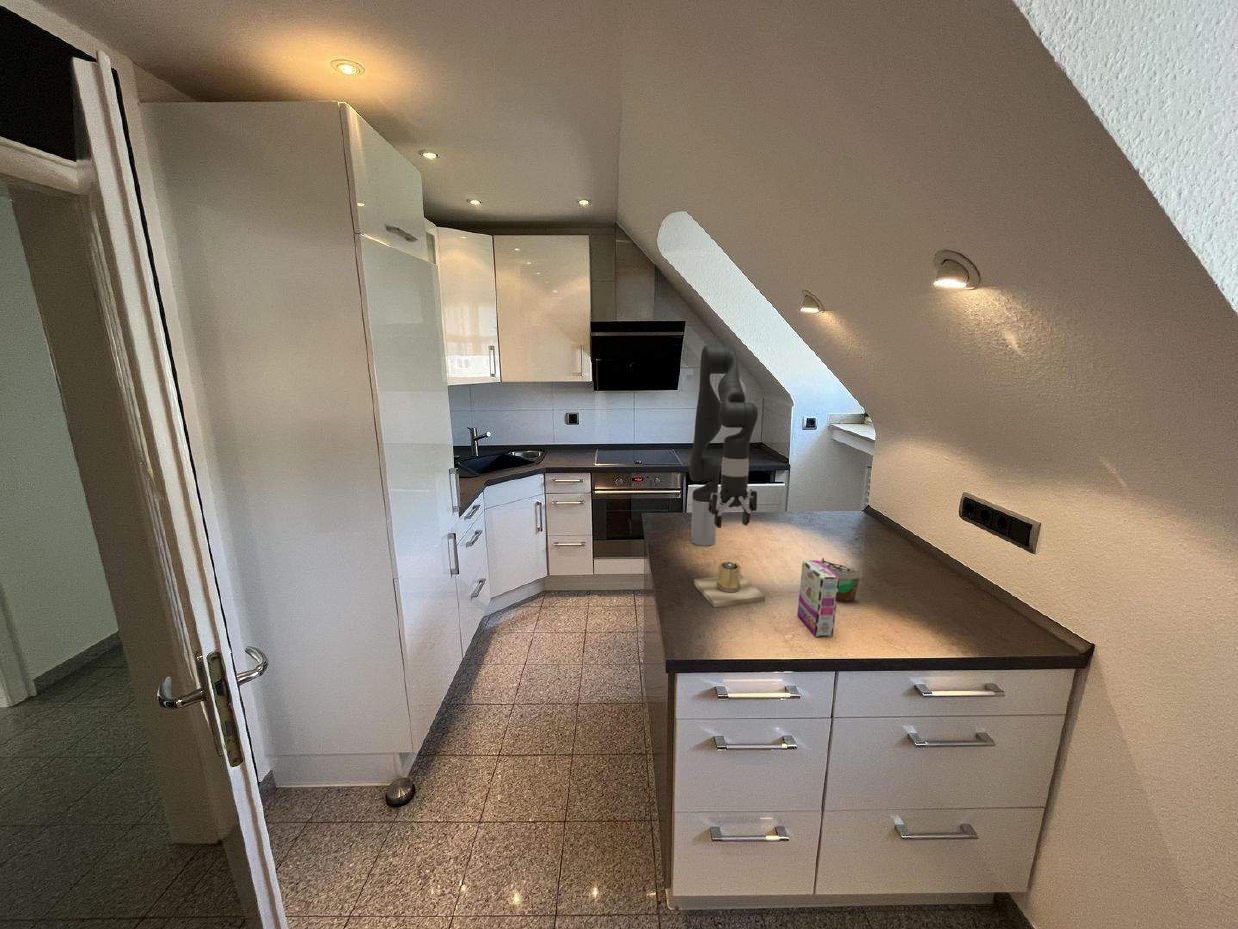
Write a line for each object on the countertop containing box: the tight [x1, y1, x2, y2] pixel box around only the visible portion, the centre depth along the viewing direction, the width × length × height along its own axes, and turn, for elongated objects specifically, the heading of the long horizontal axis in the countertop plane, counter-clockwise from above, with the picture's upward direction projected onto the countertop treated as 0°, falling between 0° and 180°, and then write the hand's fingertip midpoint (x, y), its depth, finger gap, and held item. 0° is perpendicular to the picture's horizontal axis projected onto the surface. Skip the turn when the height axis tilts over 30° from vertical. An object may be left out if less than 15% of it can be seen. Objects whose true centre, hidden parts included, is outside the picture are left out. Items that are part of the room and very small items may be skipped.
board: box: [693, 573, 766, 608], centre depth 146 cm, size 15×16×2 cm
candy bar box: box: [797, 560, 840, 638], centre depth 127 cm, size 11×5×16 cm, turn 4°
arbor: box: [717, 561, 740, 593], centre depth 145 cm, size 7×7×8 cm
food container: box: [820, 557, 863, 603], centre depth 142 cm, size 12×6×10 cm, turn 40°
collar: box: [717, 561, 742, 589], centre depth 145 cm, size 6×6×6 cm
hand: (731, 525), depth 142 cm, fingers open, 8 cm apart
